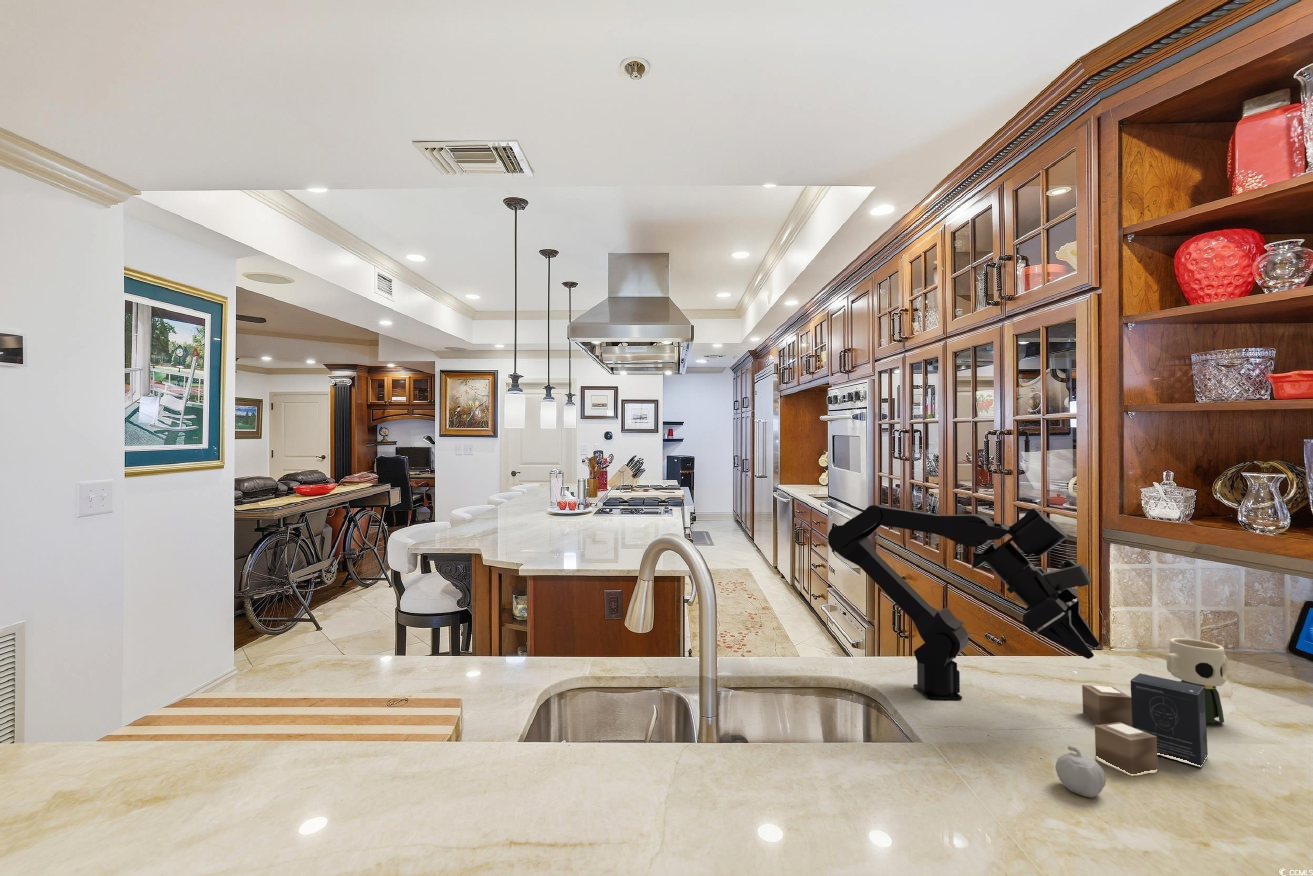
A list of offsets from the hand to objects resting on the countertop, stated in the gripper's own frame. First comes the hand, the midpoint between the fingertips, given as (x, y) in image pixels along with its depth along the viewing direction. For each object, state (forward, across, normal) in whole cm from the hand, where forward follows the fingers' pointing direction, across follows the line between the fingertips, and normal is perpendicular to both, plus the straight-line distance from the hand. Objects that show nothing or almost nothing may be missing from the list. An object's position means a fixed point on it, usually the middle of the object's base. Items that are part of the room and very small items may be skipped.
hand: (1094, 651), depth 95 cm
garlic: (+10, -24, +9) cm, 27 cm away
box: (+16, -1, +3) cm, 16 cm away
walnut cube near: (+13, -10, +6) cm, 17 cm away
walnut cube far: (+10, +8, +8) cm, 15 cm away
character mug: (+18, +20, 0) cm, 27 cm away
